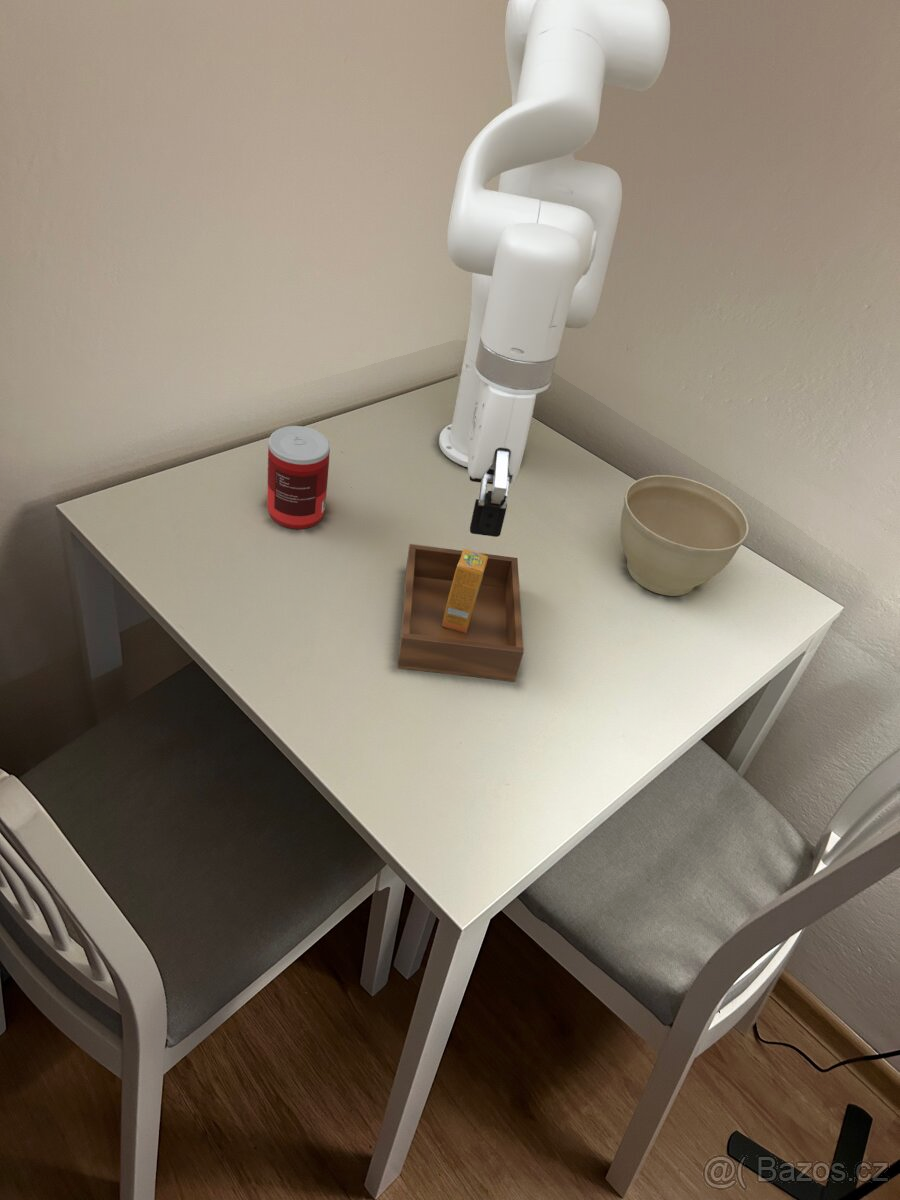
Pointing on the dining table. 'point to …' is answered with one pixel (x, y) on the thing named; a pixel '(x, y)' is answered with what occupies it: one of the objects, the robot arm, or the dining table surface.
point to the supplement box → (464, 591)
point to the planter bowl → (678, 533)
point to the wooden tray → (492, 627)
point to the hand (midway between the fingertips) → (483, 506)
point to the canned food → (297, 476)
